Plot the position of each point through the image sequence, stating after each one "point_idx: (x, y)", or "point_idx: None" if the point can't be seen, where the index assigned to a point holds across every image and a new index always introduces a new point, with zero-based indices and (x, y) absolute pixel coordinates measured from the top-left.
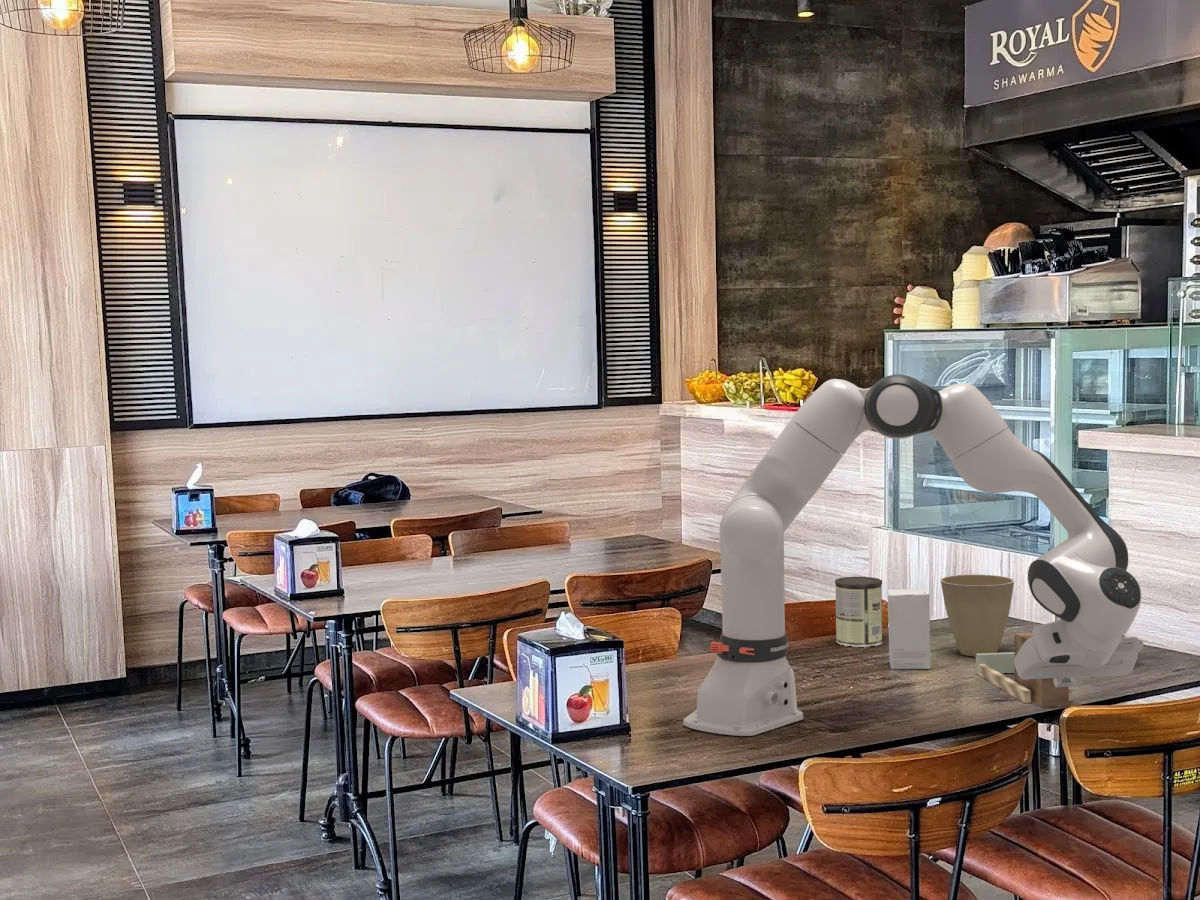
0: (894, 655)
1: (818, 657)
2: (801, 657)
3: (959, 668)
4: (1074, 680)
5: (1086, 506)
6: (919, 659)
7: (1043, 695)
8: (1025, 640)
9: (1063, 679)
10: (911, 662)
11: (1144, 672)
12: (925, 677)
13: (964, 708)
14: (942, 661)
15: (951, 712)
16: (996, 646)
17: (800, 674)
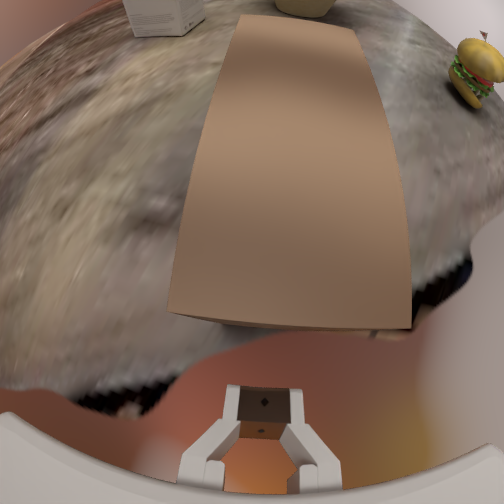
0: (133, 22)
1: (108, 18)
2: (95, 21)
3: (232, 34)
4: (288, 453)
5: None
6: (164, 24)
7: (223, 323)
8: (220, 77)
9: (250, 432)
10: (154, 28)
11: (493, 144)
12: (142, 63)
13: (47, 272)
14: (231, 16)
15: (19, 293)
16: (322, 8)
17: (37, 71)
